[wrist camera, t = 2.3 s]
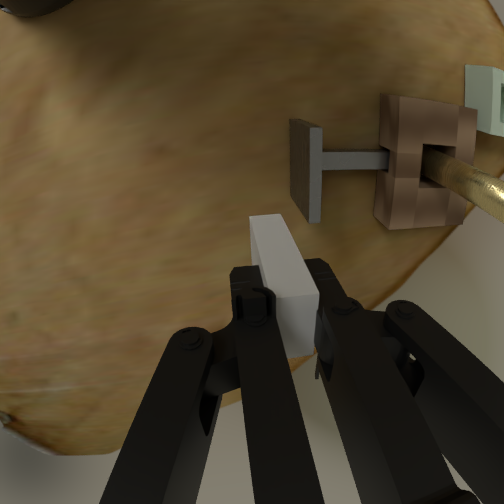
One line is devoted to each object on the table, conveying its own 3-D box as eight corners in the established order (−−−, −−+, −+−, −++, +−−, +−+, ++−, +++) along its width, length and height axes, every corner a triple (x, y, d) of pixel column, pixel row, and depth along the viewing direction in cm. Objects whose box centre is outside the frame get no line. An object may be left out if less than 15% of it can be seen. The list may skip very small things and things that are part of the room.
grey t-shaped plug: (289, 119, 29) (309, 127, 23) (383, 121, 30) (421, 132, 24) (290, 195, 33) (308, 223, 27) (379, 191, 34) (412, 216, 28)
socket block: (380, 93, 29) (399, 95, 25) (456, 104, 30) (477, 109, 26) (373, 215, 35) (388, 230, 32) (444, 211, 36) (462, 224, 33)
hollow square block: (465, 64, 27) (492, 66, 23) (503, 77, 28) (529, 82, 23) (463, 125, 31) (490, 134, 26) (501, 133, 31) (526, 141, 27)
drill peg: (408, 143, 32) (511, 190, 18) (429, 145, 32) (531, 191, 18) (406, 170, 33) (502, 229, 19) (427, 171, 33) (523, 227, 19)
